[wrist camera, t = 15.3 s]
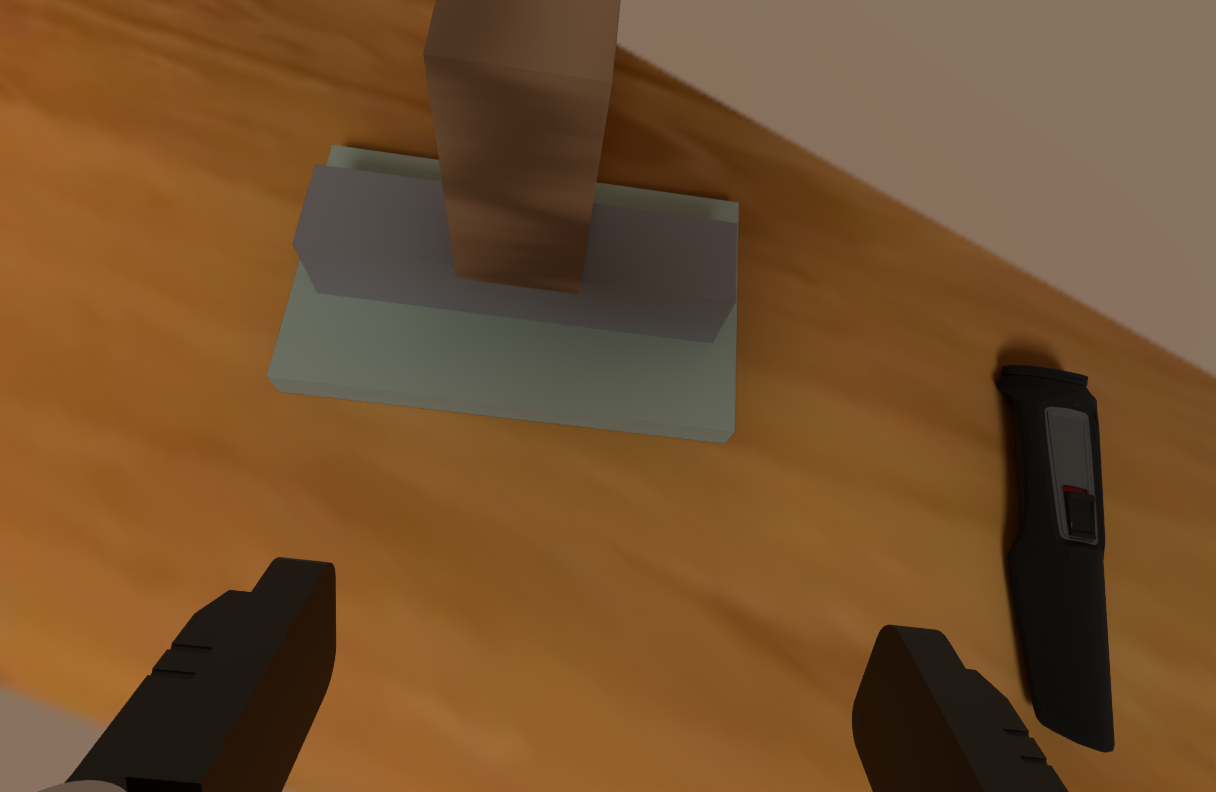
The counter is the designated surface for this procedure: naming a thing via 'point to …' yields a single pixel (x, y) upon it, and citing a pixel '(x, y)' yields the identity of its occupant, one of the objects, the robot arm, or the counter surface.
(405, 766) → the counter surface
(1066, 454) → the electric trimmer
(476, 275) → the brown wooden block
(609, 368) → the ridge board
